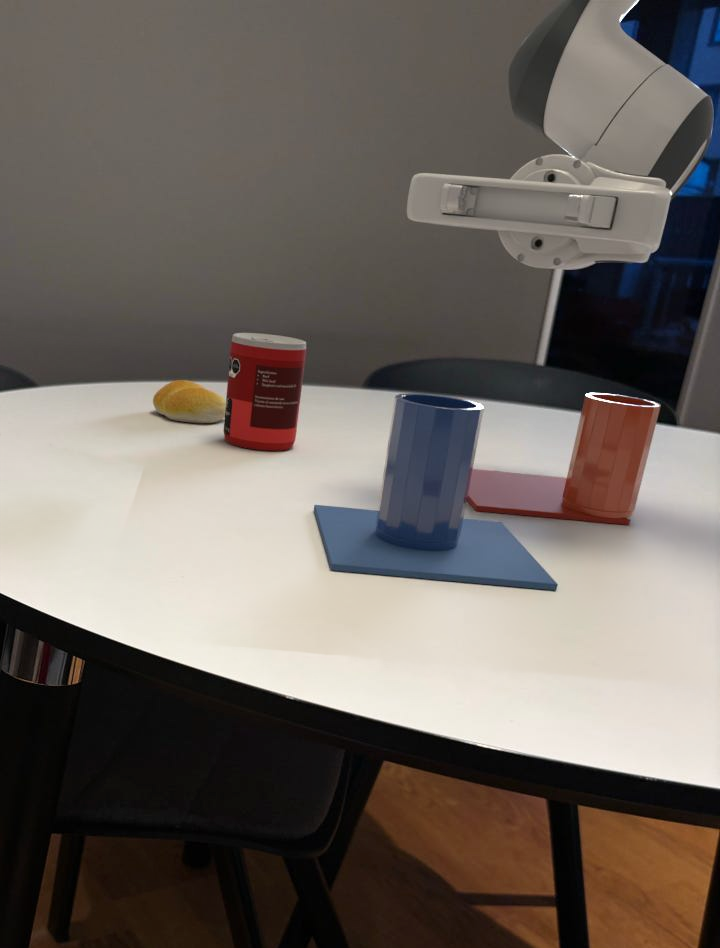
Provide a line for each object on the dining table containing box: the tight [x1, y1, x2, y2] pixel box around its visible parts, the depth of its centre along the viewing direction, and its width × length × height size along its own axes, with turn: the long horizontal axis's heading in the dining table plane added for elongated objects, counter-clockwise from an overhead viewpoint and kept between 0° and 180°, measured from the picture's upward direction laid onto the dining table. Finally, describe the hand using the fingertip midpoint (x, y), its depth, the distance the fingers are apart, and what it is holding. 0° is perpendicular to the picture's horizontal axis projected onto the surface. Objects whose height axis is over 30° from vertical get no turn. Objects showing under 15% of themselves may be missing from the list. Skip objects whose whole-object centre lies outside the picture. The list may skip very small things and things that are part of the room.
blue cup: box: [375, 392, 485, 551], centre depth 76 cm, size 6×6×10 cm
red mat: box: [467, 468, 631, 526], centre depth 98 cm, size 14×16×1 cm
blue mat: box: [313, 504, 558, 591], centre depth 78 cm, size 16×16×1 cm
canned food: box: [223, 332, 307, 452], centre depth 107 cm, size 8×8×11 cm
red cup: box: [562, 392, 662, 519], centre depth 92 cm, size 6×6×10 cm
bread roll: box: [152, 379, 226, 424], centre depth 119 cm, size 8×9×4 cm
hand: (511, 201), depth 75 cm, fingers open, 8 cm apart
